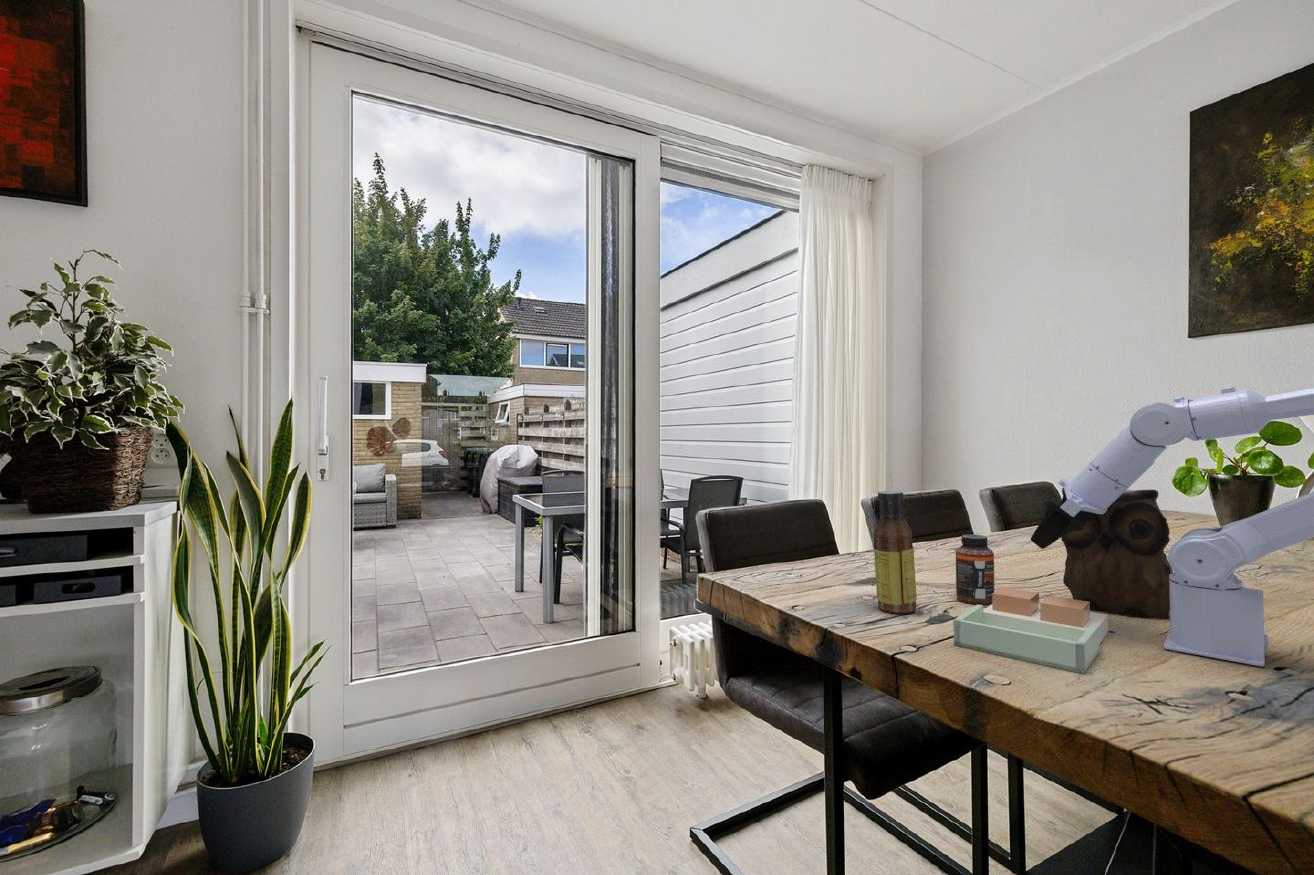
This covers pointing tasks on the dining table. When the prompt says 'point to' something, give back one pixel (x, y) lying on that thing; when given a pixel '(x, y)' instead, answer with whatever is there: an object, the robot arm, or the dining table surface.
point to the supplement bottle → (974, 570)
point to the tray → (1026, 643)
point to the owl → (1122, 558)
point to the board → (1044, 624)
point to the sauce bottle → (894, 556)
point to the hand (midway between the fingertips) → (1043, 540)
